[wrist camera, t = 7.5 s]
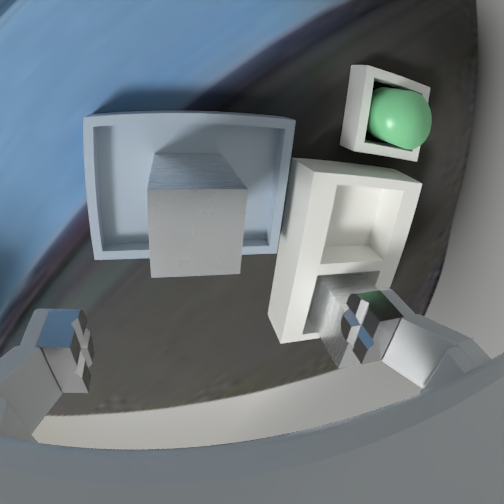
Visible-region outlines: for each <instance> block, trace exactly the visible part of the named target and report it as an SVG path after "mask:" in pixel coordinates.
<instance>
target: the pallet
mask: <svg viewBox="0 0 504 504" xmlns="http://www.w3.org/2000/svg"><path fill="white" fill-rule="evenodd" d="M421 187H422V183H420V182H419V181H417V180H415V179H413V178H411V177H409V176H407V175H405V174H403V173H401V172H399V171H397V170H395V169H392V168H385V167H378V166H370V165H363V164H354V163H346V162H337V161H327V160H316V159H305V158H292V160H291V167H290V174H289V181H288V188H287V195H286V202H285V209H284V215H283V222H282V229H281V235H280V241H279V248H278V254H277V261H276V267H275V273H274V279H273V285H272V291H271V297H270V303H269V309H268V317H269V319H270V321H271V323H272V326H273V328H274V330H275V332H276V335H277V337H278V339H279V341H280V343H288V342H295V341H302V340H309V339H315V338H320V336H319V335H318V333H317V331H316V330H315V328H314V326H313V324H312V323H311V321H310V319H309V318H308V316H307V314H308V311H309V307H310V303H311V299H312V295H313V291H314V287H315V283H316V279H317V275H330V274H343V273H355V272H363V273H364V274H365V275H366V276H367V277H368V279H369V280H370V281H371V282H372V283H373V284H374V285H375V286H376V287H377V288H378V290H379V289H385V288H390V286H391V283H392V280H393V277H394V275H395V272H396V269H397V266H398V263H399V260H400V258H401V255H402V252H403V249H404V246H405V242H406V239H407V236H408V233H409V230H410V226H411V223H412V220H413V216H414V213H415V209H416V206H417V202H418V199H419V195H420V191H421Z"/></svg>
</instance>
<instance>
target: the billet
mask: <svg viewBox="0 0 504 504" xmlns="http://www.w3.org/2000/svg"><path fill="white" fill-rule="evenodd" d="M247 196H248V189H247V187H246V186H245V185H244V183H243V182H242V181H241V179H240V178H239V177H238V175H237V174H236V173H235V171H234V170H233V169H232V167H231V166H230V165H229V163H228V162H227V161H226V159H225V158H224V157H223V155H222V154H221V153H154V157H153V162H152V167H151V172H150V177H149V182H148V187H147V210H148V234H149V251H150V266H151V278H155V277H180V276H203V275H224V274H240V267H241V257H242V246H243V236H244V226H245V216H246V206H247Z"/></svg>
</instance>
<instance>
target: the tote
mask: <svg viewBox="0 0 504 504" xmlns="http://www.w3.org/2000/svg"><path fill="white" fill-rule="evenodd" d="M295 123H296V120H293V119H290V118H287V117H283V116H273V115H262V114H250V113H236V112H217V111H131V112H112V113H98V114H90V115H88V116H85V117H83V140H84V165H85V181H86V193H87V204H88V213H89V222H90V230H91V238H92V245H93V251H94V258H95V260H107V259H136V258H150V251H149V234H148V210H147V187H148V182H149V177H150V172H151V167H152V162H153V157H154V153H221V154H222V155H223V157H224V158H225V159H226V161H227V162H228V163H229V165H230V166H231V167H232V169H233V170H234V171H235V173H236V174H237V175H238V177H239V178H240V179H241V181H242V182H243V183H244V185H245V186H246V187H247V189H248V196H247V206H246V216H245V226H244V236H243V246H242V255H245V254H271V253H277V248H278V242H279V235H280V229H281V222H282V215H283V209H284V202H285V195H286V188H287V181H288V174H289V167H290V160H291V153H292V145H293V138H294V130H295Z"/></svg>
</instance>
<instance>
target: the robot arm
mask: <svg viewBox="0 0 504 504" xmlns="http://www.w3.org/2000/svg"><path fill="white" fill-rule="evenodd" d="M346 304H347V306H348V308H349V309H348V310H347V311H346V312H345V313H344V314H343V316H342V320H341V332H342V335H343V337H344V338H345V340H346V341H347V342H348V343H350V344H352V345H353V349H352V351H353V352H354V354H355V355H356V357H357V358H358V360H359V361H360V363H361V364H365V363H370V362H374V361H379V360H382V361H383V362H384V363H386V364H387V365H389V366H390V367H392V368H393V369H394V370H396V371H398V372H399V373H400V374H402V375H403V376H405V377H406V378H408V379H409V380H411V381H412V382H414V383H415V384H417V385H418V386H419V387H421V388H423V389H422V391H421V392H420V393H419V394H417V395H414V396H412V397H409V398H407V399H404V400H401V401H399V402H396V403H393V404H391V405H388V406H385V407H382V408H379V409H376V410H374V411H370V412H367V413H364V414H361V415H358V416H354V417H351V418H348V419H344V420H341V421H337V422H334V423H330V424H326V425H322V426H318V427H314V428H310V429H306V430H302V431H297V432H292V433H288V434H283V435H278V436H273V437H267V438H261V439H256V440H250V441H244V442H236V443H229V444H221V445H211V446H201V447H191V448H175V449H154V450H153V449H149V450H118V449H117V450H116V449H93V448H79V447H67V446H58V445H50V444H42V443H38V442H37V441H36V440H35V438H34V437H33V436H32V435H31V434H32V433H33V432H34V430H35V429H36V427H37V426H38V425H39V423H40V422H41V421H42V419H43V418H44V417H45V416H46V414H47V413H48V412H49V410H50V409H51V408H52V406H53V405H54V404H55V403H56V401H57V400H58V399H59V397H60V396H61V395H62V392H65V393H88V392H89V385H90V378H91V374H90V372H89V369H88V368H89V367H90V366H91V365H92V364H93V357H94V350H93V341H92V336H91V333H90V332H89V331H88V330H87V329H86V324H87V319H86V316H85V312H84V311H83V310H80V309H36V310H35V311H34V313H33V315H32V317H31V320H30V322H29V324H28V327H27V329H26V331H25V334H24V336H23V339H22V341H21V344H20V346H15V347H14V348H12V349H11V350H10V351H9V352H7V353H6V354H5V355H4V356H2V357H1V358H0V504H504V353H502V354H500V355H498V356H497V357H495V358H493V359H490V358H489V356H488V355H487V354H486V353H485V352H484V351H483V350H482V349H481V348H480V347H479V346H478V344H477V343H476V342H475V341H474V340H473V339H472V338H470V337H467V336H465V335H463V334H461V333H459V332H457V331H454V330H452V329H450V328H448V327H446V326H444V325H441V324H439V323H437V322H435V321H432V320H430V319H428V318H426V317H424V316H422V315H416V314H415V313H414V312H413V311H412V310H411V309H410V308H409V307H408V306H407V305H406V304H405V303H404V302H403V301H402V299H401V298H400V297H399V296H398V295H397V294H396V293H395V292H394V291H393V290H391V289H389V288H385V289H379V290H375V291H367V292H359V293H351V295H350V296H349V297H348V300H347V303H346Z"/></svg>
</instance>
